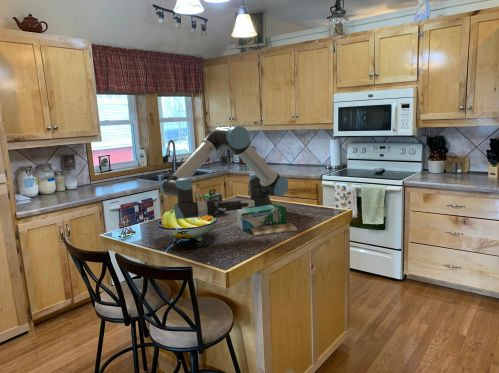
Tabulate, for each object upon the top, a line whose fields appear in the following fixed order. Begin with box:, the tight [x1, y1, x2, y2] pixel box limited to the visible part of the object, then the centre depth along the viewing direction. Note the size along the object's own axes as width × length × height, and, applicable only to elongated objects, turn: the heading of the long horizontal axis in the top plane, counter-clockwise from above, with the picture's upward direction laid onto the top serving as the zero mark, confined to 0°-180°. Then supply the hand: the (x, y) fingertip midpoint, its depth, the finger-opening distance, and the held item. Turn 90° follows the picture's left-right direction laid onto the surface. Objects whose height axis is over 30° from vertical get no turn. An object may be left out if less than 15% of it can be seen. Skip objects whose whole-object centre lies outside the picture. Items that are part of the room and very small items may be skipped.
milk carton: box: [235, 203, 288, 231], centre depth 208 cm, size 9×9×25 cm
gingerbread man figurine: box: [118, 212, 137, 235], centre depth 206 cm, size 9×4×12 cm, turn 143°
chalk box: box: [202, 188, 223, 215], centre depth 240 cm, size 9×9×15 cm
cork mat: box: [250, 222, 299, 237], centre depth 199 cm, size 22×12×1 cm, turn 100°
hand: (254, 203), depth 194 cm, fingers closed
